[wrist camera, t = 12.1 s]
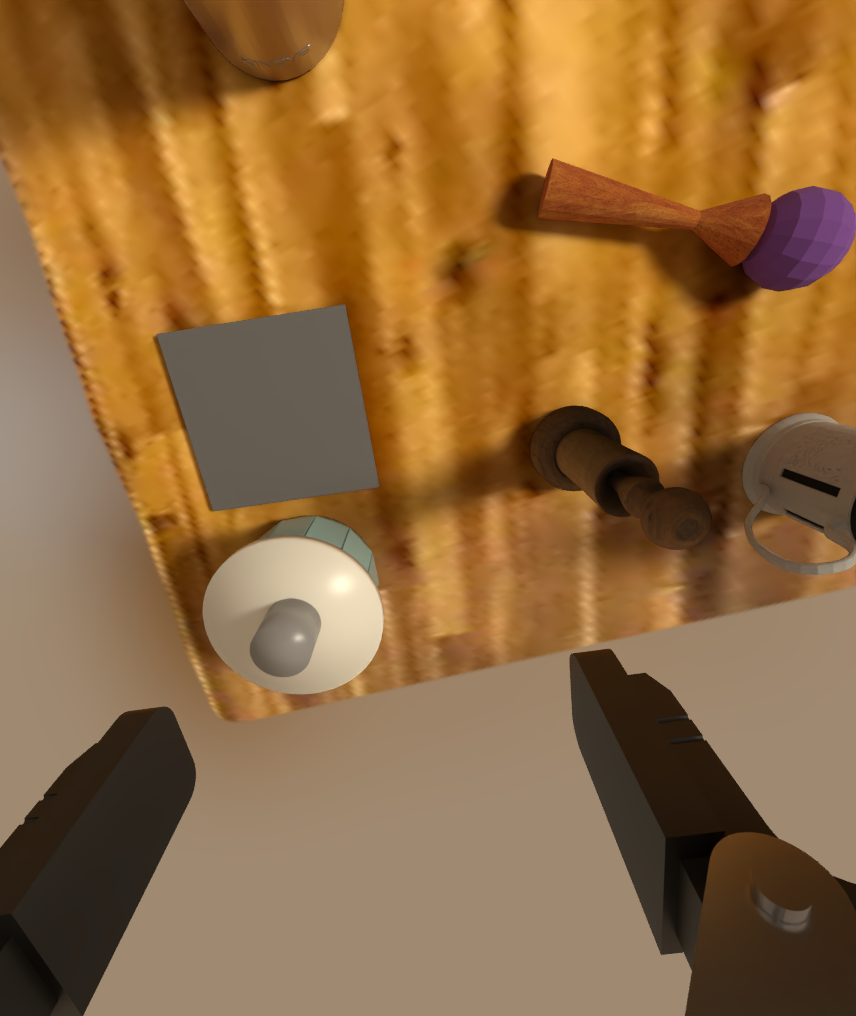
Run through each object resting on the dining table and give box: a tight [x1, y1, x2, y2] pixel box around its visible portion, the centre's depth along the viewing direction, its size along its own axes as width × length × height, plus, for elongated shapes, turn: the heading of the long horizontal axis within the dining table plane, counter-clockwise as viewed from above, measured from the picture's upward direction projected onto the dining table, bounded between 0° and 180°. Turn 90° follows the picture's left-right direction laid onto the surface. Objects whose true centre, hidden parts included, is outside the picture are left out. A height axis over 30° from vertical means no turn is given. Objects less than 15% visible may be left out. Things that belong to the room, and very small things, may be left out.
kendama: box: [537, 158, 856, 291], centre depth 31 cm, size 6×6×20 cm
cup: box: [258, 516, 379, 588], centre depth 38 cm, size 11×11×7 cm
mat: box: [156, 305, 379, 511], centre depth 37 cm, size 14×14×1 cm
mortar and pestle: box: [530, 406, 712, 550], centre depth 30 cm, size 7×6×18 cm
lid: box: [203, 535, 384, 694], centre depth 33 cm, size 13×13×4 cm
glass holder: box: [742, 413, 856, 575], centre depth 32 cm, size 9×14×15 cm, turn 109°
